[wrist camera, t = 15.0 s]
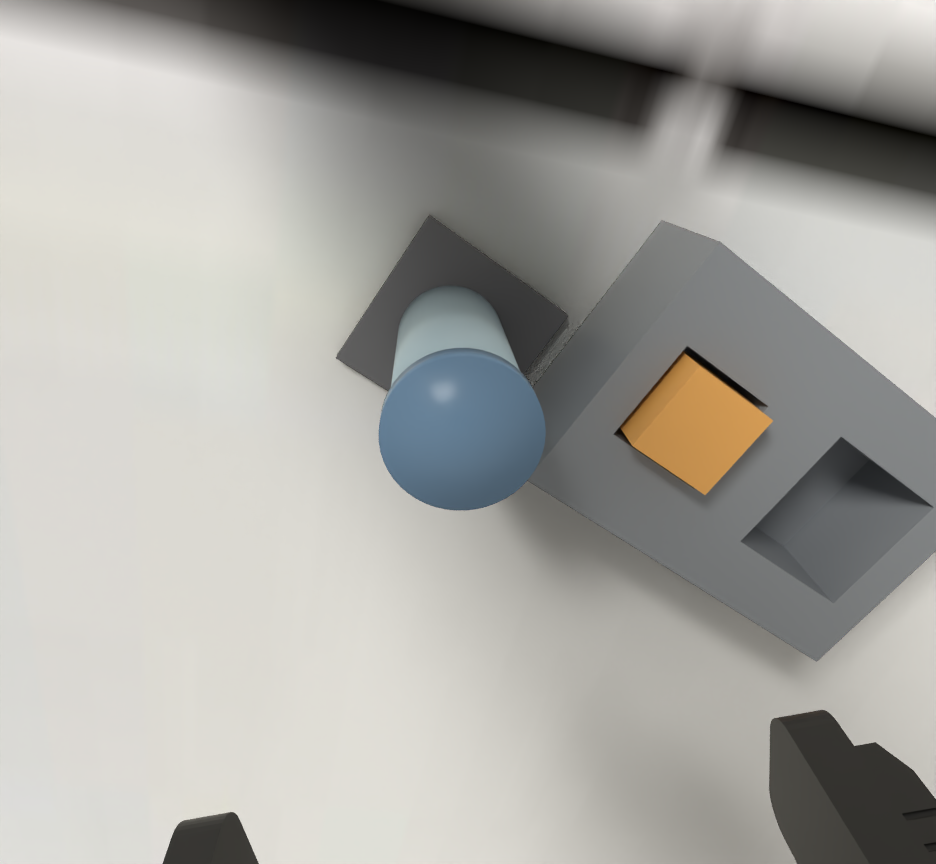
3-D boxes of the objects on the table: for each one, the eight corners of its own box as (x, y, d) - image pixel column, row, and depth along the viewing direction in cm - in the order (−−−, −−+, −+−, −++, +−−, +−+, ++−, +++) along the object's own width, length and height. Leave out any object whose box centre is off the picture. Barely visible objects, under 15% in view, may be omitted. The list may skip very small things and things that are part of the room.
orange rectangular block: (602, 401, 33) (632, 445, 28) (659, 332, 31) (699, 366, 27) (666, 445, 34) (705, 495, 29) (724, 379, 32) (773, 420, 28)
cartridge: (382, 292, 33) (361, 373, 22) (497, 271, 33) (534, 342, 22) (406, 399, 35) (398, 522, 24) (513, 379, 35) (555, 495, 24)
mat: (337, 354, 34) (335, 358, 34) (429, 214, 32) (429, 216, 32) (470, 438, 37) (471, 443, 36) (565, 313, 34) (568, 316, 34)
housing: (508, 418, 36) (527, 480, 30) (662, 220, 33) (719, 241, 26) (755, 578, 41) (816, 661, 35) (911, 420, 38) (1012, 480, 31)
